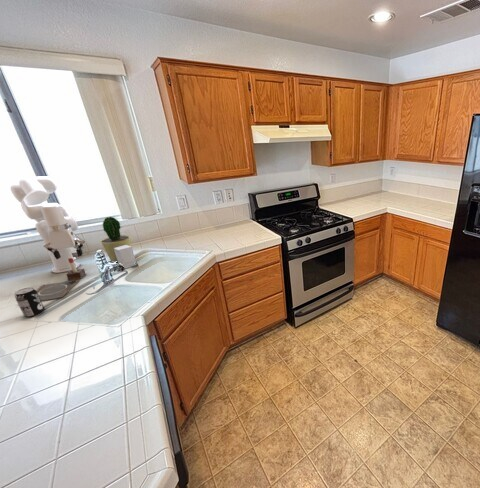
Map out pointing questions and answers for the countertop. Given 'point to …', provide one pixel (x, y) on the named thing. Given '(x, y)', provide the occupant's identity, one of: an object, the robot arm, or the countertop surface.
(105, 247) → the potted cactus
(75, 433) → the countertop surface
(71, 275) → the pen holder
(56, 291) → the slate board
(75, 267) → the marker
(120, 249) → the white packaging box
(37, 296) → the beverage can
